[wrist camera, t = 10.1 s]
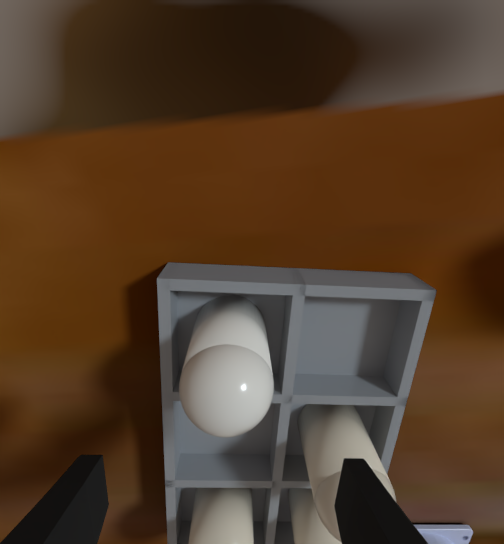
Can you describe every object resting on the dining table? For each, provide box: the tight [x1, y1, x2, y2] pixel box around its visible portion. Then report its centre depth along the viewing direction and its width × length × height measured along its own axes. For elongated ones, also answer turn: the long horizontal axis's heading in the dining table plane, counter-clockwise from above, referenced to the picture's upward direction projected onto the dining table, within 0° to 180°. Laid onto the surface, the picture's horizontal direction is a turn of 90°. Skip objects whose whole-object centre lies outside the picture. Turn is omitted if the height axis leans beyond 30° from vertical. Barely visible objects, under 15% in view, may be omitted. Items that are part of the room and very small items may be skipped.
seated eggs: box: [188, 404, 396, 544], centre depth 19 cm, size 11×11×7 cm
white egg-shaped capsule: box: [179, 295, 274, 438], centre depth 15 cm, size 4×4×7 cm
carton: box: [157, 263, 437, 544], centre depth 20 cm, size 20×14×2 cm
